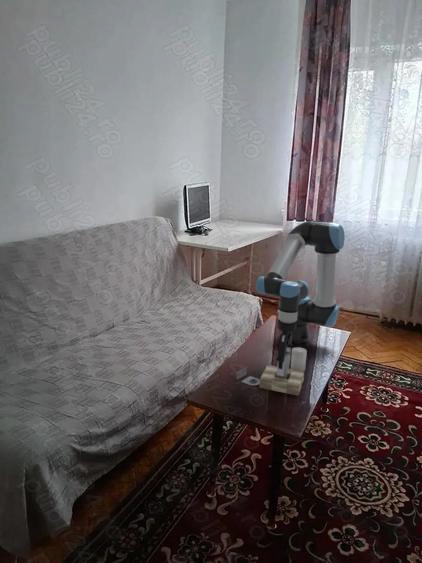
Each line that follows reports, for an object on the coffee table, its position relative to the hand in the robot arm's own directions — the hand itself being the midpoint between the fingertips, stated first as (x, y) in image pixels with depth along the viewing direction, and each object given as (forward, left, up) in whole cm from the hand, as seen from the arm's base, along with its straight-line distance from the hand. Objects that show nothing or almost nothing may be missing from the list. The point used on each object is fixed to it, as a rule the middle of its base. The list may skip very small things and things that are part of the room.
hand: (283, 368), depth 173 cm
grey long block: (0, 0, -7) cm, 7 cm away
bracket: (+2, -14, -8) cm, 16 cm away
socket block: (0, 0, -7) cm, 7 cm away
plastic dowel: (-17, +4, -7) cm, 19 cm away
